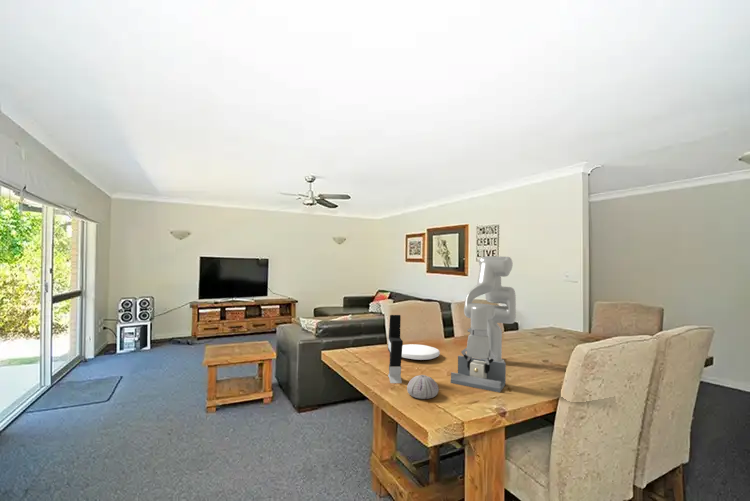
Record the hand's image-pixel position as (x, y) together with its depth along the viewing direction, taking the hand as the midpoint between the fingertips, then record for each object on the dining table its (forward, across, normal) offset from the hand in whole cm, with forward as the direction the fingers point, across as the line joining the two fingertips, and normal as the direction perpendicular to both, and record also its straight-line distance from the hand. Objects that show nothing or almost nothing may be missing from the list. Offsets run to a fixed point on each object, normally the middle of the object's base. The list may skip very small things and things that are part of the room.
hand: (478, 370), depth 169 cm
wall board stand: (+6, 0, 0) cm, 6 cm away
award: (+6, -35, -16) cm, 39 cm away
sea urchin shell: (+6, -16, -28) cm, 32 cm away
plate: (+6, -43, +26) cm, 51 cm away
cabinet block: (+4, 0, 0) cm, 4 cm away
